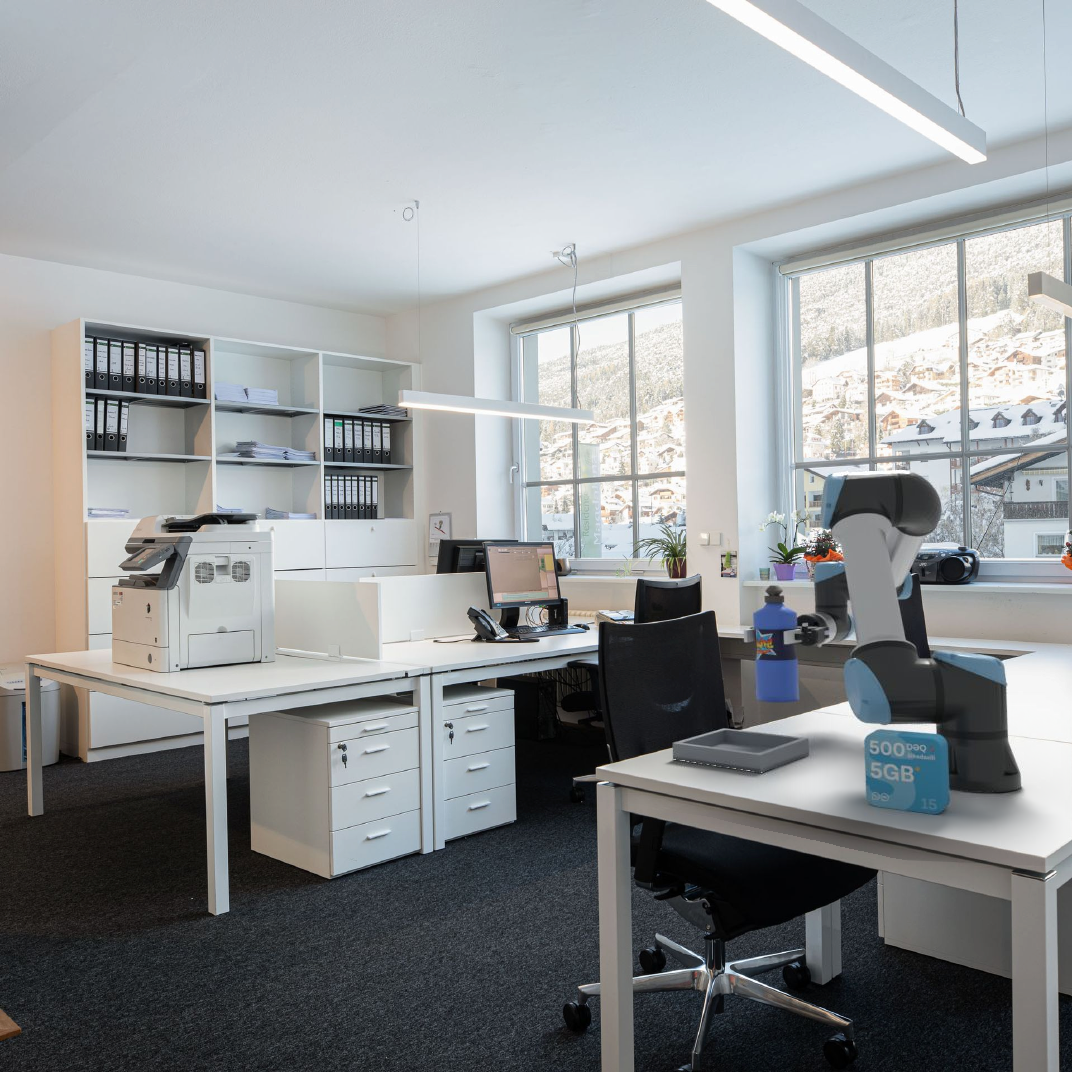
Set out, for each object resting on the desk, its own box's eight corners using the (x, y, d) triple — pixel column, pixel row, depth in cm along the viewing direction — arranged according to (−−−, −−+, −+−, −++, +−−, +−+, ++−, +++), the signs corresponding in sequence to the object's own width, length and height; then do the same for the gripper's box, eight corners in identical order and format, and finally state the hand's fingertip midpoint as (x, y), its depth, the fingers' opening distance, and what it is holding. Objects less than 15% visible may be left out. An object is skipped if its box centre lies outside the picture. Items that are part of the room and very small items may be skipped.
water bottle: (776, 703, 197) (772, 586, 198) (746, 698, 205) (743, 586, 206) (808, 699, 201) (804, 584, 202) (778, 694, 210) (775, 584, 210)
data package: (866, 805, 152) (863, 732, 152) (874, 799, 156) (871, 728, 156) (943, 816, 145) (940, 739, 145) (950, 809, 149) (947, 734, 149)
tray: (760, 773, 176) (760, 755, 176) (673, 760, 190) (672, 743, 190) (808, 755, 191) (808, 738, 191) (724, 744, 204) (723, 728, 205)
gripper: (858, 647, 209) (812, 656, 193) (771, 643, 224) (722, 651, 208) (857, 614, 210) (811, 620, 193) (770, 612, 224) (721, 618, 208)
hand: (765, 637), depth 200 cm, fingers closed on water bottle, 9 cm apart
